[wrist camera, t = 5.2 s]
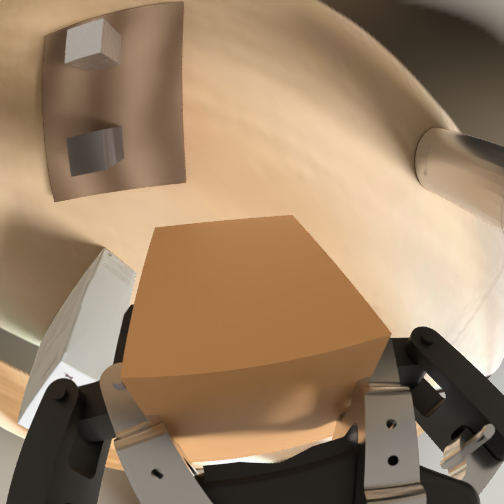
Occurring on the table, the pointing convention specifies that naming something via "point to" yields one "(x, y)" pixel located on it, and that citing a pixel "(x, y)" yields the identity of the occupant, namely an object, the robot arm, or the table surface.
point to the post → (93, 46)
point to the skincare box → (82, 331)
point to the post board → (117, 108)
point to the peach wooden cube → (246, 337)
